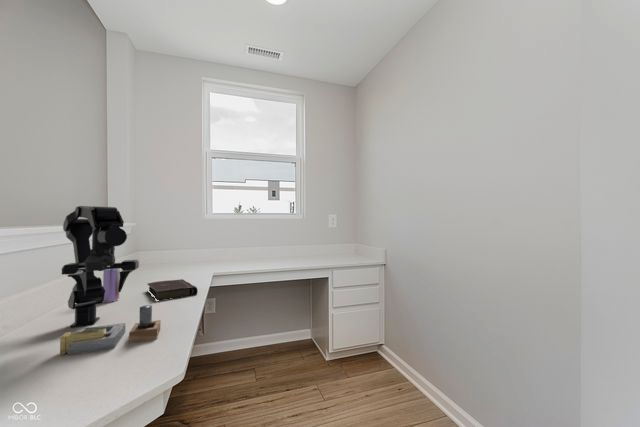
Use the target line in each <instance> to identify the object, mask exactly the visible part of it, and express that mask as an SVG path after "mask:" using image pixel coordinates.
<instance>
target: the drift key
mask: <svg viewBox="0 0 640 427" xmlns="http://www.w3.org/2000/svg"><path fill="white" fill-rule="evenodd" d="M104 337H106V328H104V329H96V330H89V331H83V330H82V331H75V332H71V331H66V332H65V333H63V334H62V335H61V336H60V338H59V339H60V340H59V345H60V346H59V356H62V355H65V354H68V350H69V343H70V342H77V341H84V340H91V339H97V338H104Z"/></svg>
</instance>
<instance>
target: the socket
mask: <svg viewBox="0 0 640 427" xmlns="http://www.w3.org/2000/svg"><path fill="white" fill-rule="evenodd" d="M104 328H106V337H104V338H97V339H91V340H84V341H77V342H70V343H69V350H68V353H67V354H68V356H72V355H73V356H74V355H79V354H80V355H81V354H85V353H92V352H97V351H105V350H112V349H115V348H116V347H117V345H118V343H119V342H120V341H121V339H123V337H124V335H125V333H126V322H120V323H114V324H109V325H107V324H106V325H99V326H98V325H97V326H91V327H85V328H84V330H82V331H89V330H96V329H104Z"/></svg>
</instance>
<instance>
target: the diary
mask: <svg viewBox="0 0 640 427" xmlns="http://www.w3.org/2000/svg"><path fill="white" fill-rule="evenodd" d="M146 284H147V286H149V287H148V289H149V291H150V292H151V293H152V294H153V295H154V296H155V298H156V299H157V300H163V299H169V300H171V299H170V298H173V300H174V298H175V299H180V298H182V297H188V296H192V295H193V294H194V295H198V293H199V292H198V288H197V286H196V285H193V284H191V283H190V282H188V281H186V280H185V279H183V278H181V279H172V280H171V279H170V280H161V281H153V282H148V283H146ZM177 297H178V298H177ZM163 301H164V300H163Z"/></svg>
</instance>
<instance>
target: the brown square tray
mask: <svg viewBox="0 0 640 427" xmlns="http://www.w3.org/2000/svg"><path fill="white" fill-rule="evenodd" d="M160 331H161V319H159V320H158V319H157V320H152V328H146V329H139V322H138V323H137V322H136V323H134V324H133V326H132V328H131V329H130V331H129V333H128V342H129V344H133V343H139V342H145V341H150V340H151V341H152V340H157V339H158V337H159V334H160Z"/></svg>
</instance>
